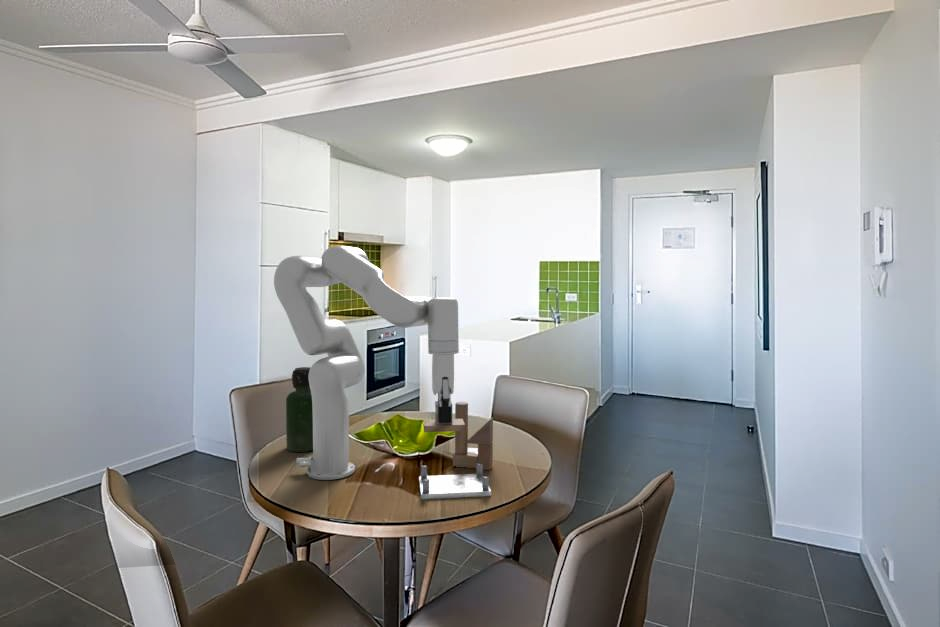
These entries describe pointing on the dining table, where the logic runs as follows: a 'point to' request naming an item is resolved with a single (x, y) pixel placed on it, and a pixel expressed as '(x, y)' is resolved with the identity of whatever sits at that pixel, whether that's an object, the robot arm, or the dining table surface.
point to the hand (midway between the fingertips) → (444, 419)
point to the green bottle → (299, 413)
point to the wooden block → (472, 442)
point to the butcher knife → (473, 450)
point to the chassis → (454, 485)
